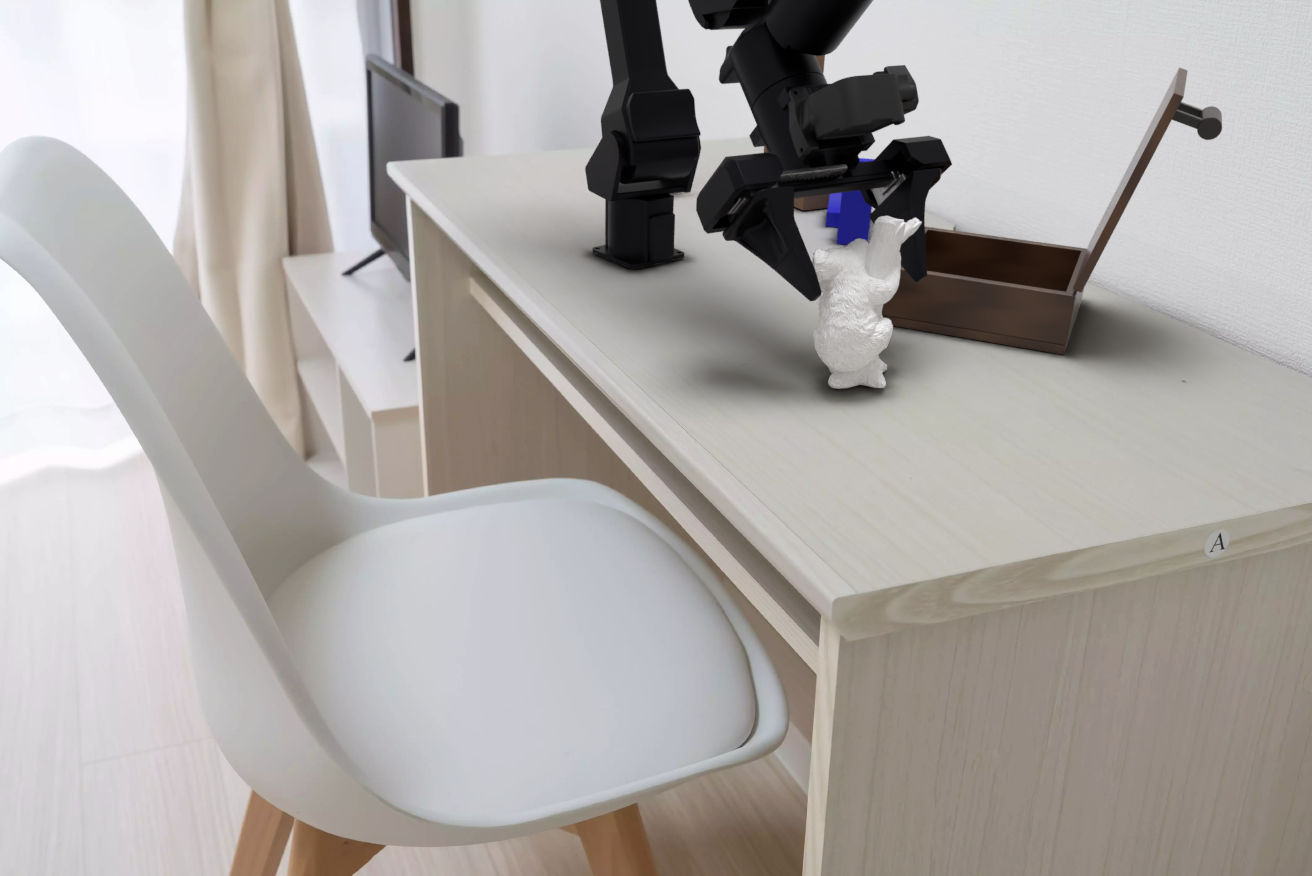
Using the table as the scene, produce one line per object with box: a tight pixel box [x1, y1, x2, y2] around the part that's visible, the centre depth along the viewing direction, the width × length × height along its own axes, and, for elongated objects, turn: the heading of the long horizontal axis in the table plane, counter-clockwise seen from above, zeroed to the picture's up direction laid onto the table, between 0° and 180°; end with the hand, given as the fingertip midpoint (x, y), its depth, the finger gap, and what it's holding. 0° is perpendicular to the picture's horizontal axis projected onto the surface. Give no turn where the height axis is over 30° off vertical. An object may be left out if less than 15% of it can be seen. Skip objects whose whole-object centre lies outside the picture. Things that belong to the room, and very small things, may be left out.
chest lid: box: [1073, 67, 1223, 292], centre depth 86 cm, size 15×14×4 cm
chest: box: [882, 226, 1087, 355], centre depth 94 cm, size 15×14×5 cm
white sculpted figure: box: [812, 216, 922, 390], centre depth 78 cm, size 8×7×12 cm
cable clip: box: [825, 157, 876, 246], centre depth 116 cm, size 12×4×6 cm, turn 168°
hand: (870, 288), depth 77 cm, fingers open, 9 cm apart
